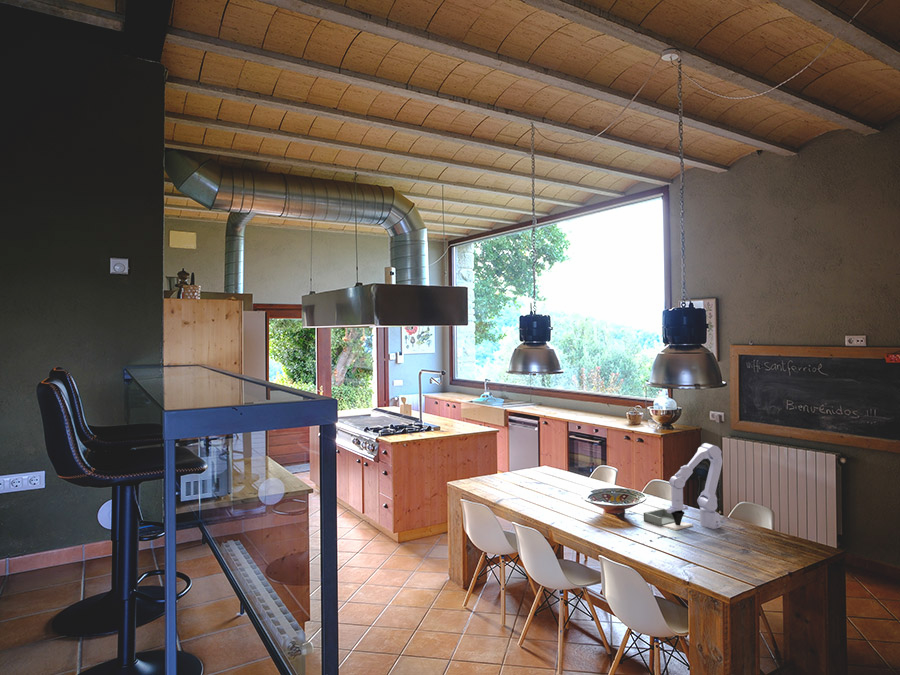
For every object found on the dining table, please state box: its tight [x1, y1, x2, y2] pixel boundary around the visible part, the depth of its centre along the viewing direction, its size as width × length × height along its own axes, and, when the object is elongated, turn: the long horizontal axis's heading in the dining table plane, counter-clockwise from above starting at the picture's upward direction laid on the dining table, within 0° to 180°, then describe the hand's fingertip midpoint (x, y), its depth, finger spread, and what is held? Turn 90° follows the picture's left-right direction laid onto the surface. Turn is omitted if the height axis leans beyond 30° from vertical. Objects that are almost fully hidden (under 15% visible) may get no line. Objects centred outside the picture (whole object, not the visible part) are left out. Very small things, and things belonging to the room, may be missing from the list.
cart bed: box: [643, 508, 675, 527], centre depth 298 cm, size 11×16×5 cm
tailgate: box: [662, 521, 694, 531], centre depth 290 cm, size 8×14×1 cm, turn 119°
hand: (677, 524), depth 289 cm, fingers closed, pressing on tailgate
